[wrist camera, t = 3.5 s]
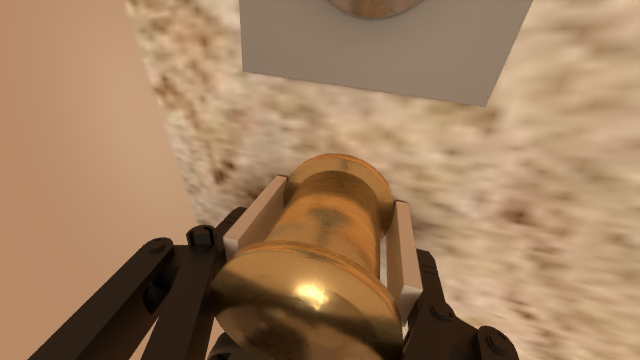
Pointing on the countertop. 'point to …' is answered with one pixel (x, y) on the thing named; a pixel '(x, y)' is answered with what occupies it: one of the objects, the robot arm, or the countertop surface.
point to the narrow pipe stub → (374, 8)
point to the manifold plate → (385, 46)
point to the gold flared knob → (316, 271)
